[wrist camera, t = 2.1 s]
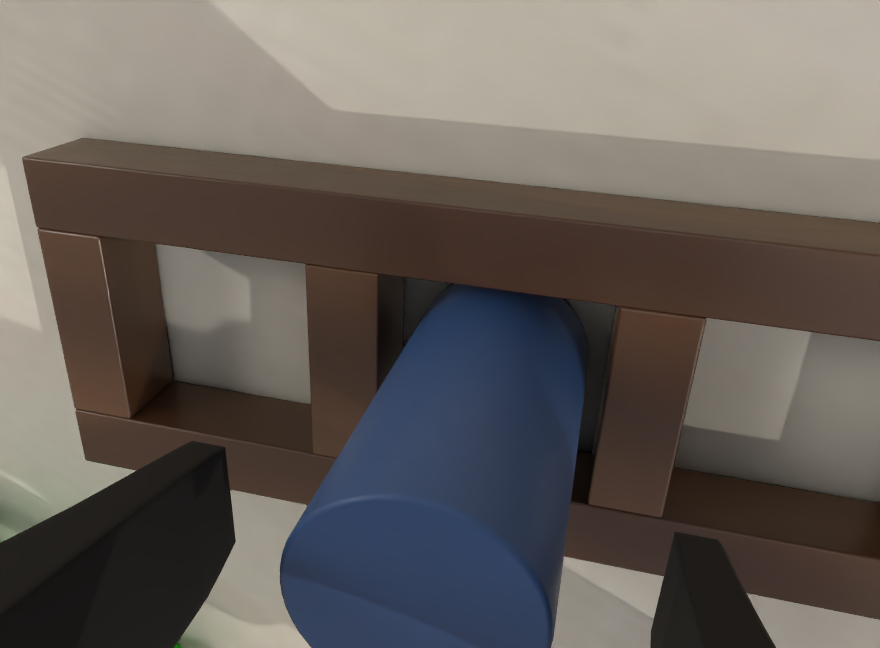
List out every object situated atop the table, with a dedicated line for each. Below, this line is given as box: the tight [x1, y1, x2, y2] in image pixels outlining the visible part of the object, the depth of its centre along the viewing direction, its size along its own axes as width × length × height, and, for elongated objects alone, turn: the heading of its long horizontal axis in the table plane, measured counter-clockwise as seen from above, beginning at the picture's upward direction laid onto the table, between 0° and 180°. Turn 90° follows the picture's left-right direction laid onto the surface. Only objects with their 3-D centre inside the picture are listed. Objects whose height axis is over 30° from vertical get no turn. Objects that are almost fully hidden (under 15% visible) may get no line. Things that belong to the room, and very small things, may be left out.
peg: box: [280, 284, 589, 648], centre depth 14 cm, size 4×4×8 cm
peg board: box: [22, 138, 880, 620], centre depth 17 cm, size 8×21×2 cm, turn 88°
